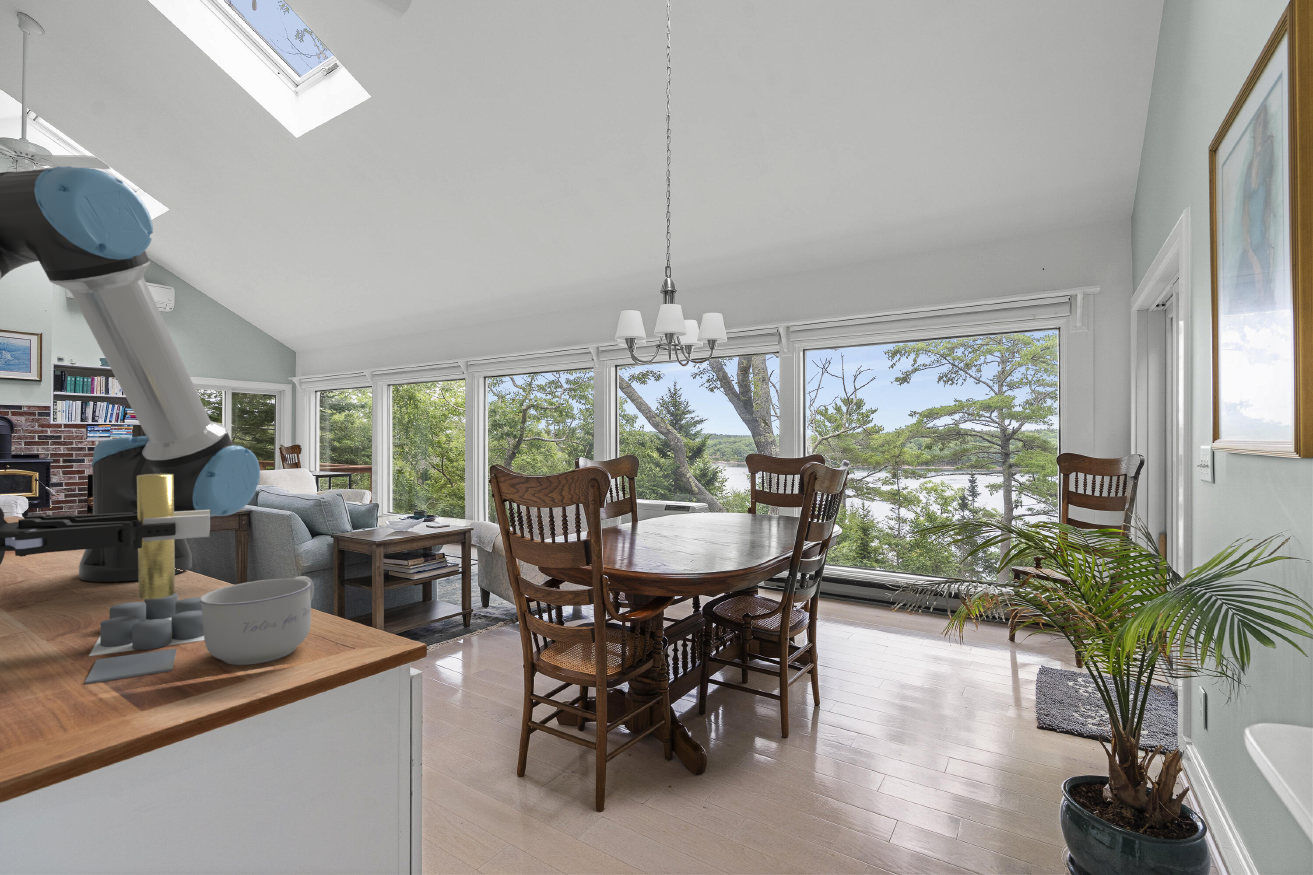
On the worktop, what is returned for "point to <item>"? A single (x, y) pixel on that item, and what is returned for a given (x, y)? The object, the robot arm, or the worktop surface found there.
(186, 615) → the mat
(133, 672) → the slate coaster
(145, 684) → the worktop surface
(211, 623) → the teacup
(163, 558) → the cylinder
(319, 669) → the worktop surface
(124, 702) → the worktop surface
